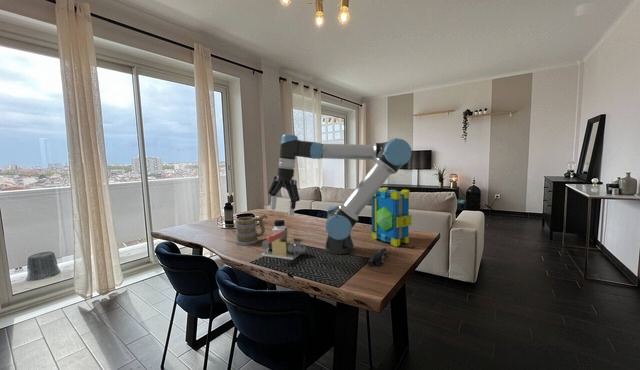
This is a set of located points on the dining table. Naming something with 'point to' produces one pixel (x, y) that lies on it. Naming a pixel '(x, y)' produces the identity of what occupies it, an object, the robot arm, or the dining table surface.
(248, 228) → the tankard
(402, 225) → the decorative book
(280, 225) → the medicine bottle
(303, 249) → the valve
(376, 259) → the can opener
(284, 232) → the lever
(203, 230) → the dining table surface
